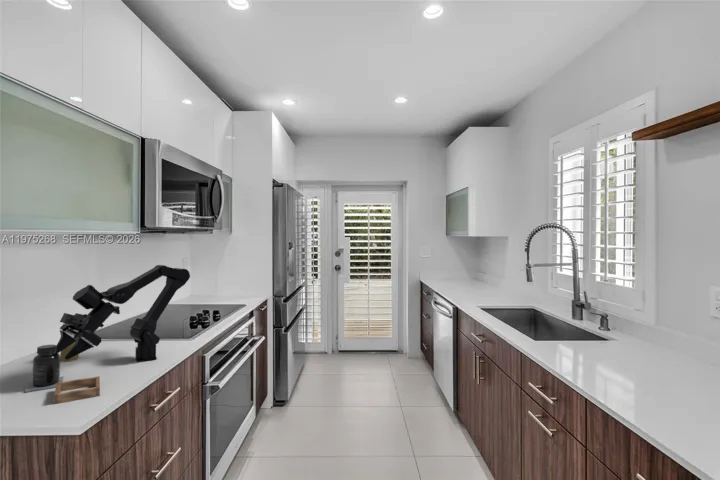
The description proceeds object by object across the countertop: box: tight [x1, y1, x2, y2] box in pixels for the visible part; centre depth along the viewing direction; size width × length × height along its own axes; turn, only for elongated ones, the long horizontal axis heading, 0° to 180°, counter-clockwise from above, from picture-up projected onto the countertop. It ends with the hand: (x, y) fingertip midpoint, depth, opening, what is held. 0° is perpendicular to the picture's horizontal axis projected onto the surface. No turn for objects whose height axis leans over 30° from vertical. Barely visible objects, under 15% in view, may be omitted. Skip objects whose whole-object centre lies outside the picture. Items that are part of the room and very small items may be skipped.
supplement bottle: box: [32, 344, 61, 387], centre depth 125 cm, size 7×7×12 cm
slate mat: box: [24, 376, 65, 393], centre depth 125 cm, size 9×9×1 cm
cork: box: [59, 338, 80, 363], centre depth 150 cm, size 6×6×11 cm
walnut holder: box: [53, 375, 101, 405], centre depth 119 cm, size 11×11×2 cm
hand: (59, 356), depth 128 cm, fingers open, 9 cm apart
